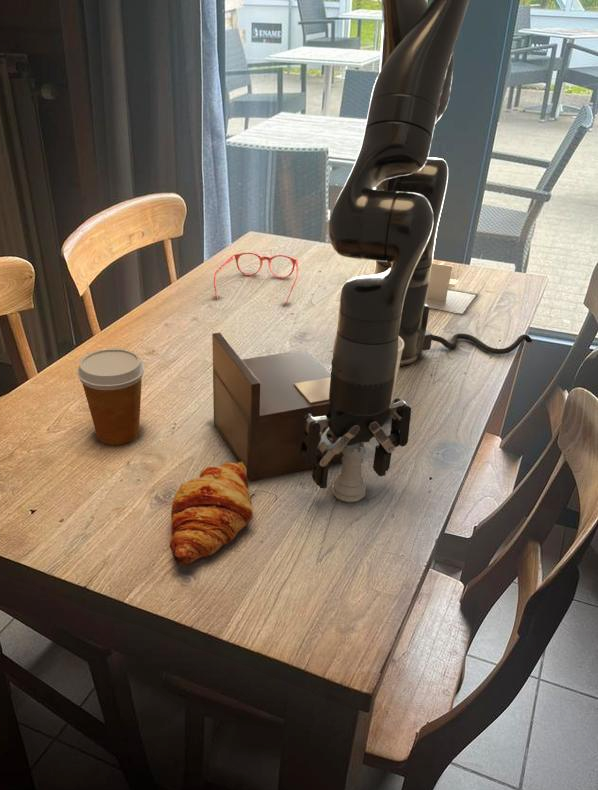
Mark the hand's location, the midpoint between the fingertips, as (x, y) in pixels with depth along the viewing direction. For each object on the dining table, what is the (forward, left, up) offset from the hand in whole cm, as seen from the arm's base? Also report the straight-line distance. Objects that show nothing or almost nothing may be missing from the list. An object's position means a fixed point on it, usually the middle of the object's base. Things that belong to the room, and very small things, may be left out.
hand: (350, 478), depth 95 cm
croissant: (+19, -1, -3) cm, 19 cm away
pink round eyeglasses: (-15, -73, -3) cm, 75 cm away
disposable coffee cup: (+26, -25, -3) cm, 36 cm away
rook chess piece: (0, 0, -3) cm, 3 cm away
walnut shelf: (+4, -15, -3) cm, 16 cm away
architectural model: (-48, -56, -3) cm, 74 cm away
